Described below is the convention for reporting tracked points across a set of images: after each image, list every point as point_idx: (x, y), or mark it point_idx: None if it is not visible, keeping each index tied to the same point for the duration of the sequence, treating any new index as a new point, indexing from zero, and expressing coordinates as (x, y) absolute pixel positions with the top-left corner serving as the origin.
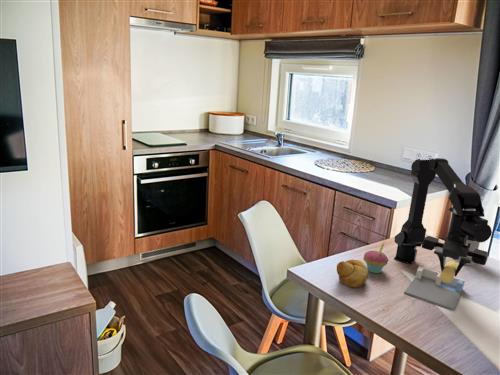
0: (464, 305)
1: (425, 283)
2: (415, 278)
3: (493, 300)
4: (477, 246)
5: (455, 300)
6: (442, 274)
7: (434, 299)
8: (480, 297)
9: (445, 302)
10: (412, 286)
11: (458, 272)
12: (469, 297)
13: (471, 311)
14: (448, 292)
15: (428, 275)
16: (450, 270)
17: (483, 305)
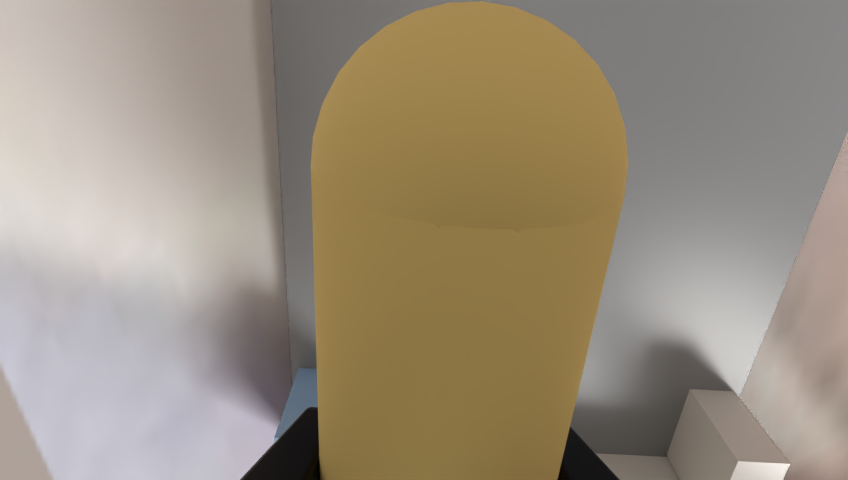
0: (204, 144)
1: (634, 336)
2: (736, 376)
3: (39, 414)
4: None
5: (298, 158)
6: (597, 94)
7: (521, 4)
8: (139, 400)
9: (387, 18)
10: (786, 178)
11: (242, 477)
12: (214, 343)
13: (102, 47)
14: None
15: (620, 475)
16: (406, 400)
17: (63, 271)
